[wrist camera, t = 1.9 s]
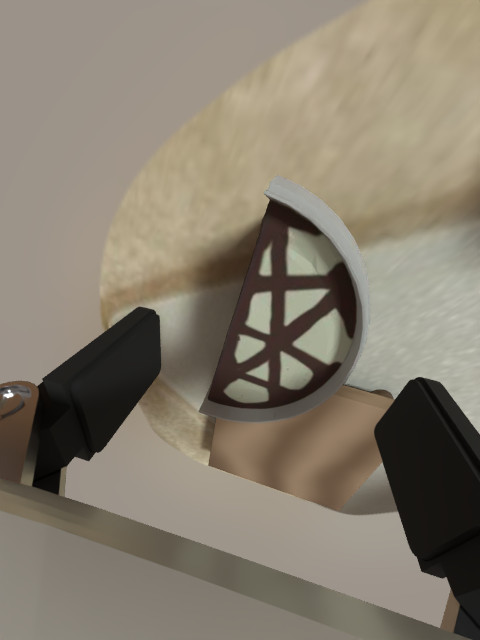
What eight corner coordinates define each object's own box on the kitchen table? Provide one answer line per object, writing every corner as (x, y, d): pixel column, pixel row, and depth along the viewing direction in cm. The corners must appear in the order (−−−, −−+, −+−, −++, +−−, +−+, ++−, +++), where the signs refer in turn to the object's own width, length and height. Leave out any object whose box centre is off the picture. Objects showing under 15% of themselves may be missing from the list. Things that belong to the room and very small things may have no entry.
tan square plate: (405, 391, 21) (419, 419, 18) (335, 483, 29) (338, 511, 27) (233, 343, 23) (225, 363, 20) (216, 443, 31) (208, 465, 29)
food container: (300, 353, 21) (299, 459, 13) (238, 329, 22) (196, 418, 13) (379, 212, 15) (480, 240, 6) (288, 182, 15) (270, 170, 7)
